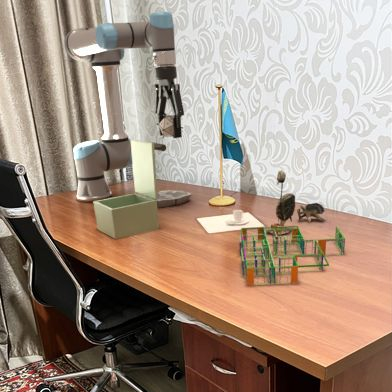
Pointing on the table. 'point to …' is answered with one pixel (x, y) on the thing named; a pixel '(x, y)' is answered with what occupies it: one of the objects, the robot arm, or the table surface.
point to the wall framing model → (295, 239)
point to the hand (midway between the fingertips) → (170, 136)
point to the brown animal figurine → (311, 211)
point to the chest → (126, 215)
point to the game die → (167, 126)
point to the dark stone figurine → (283, 206)
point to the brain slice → (171, 198)
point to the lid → (145, 167)
